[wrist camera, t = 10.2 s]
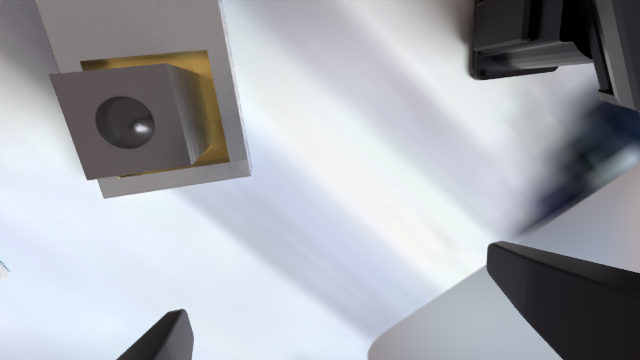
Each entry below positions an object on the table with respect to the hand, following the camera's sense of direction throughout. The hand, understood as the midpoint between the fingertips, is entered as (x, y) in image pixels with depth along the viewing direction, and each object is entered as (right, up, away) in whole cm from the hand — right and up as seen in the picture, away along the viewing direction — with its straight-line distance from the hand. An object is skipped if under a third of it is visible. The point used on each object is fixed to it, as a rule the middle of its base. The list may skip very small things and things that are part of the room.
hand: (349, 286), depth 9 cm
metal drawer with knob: (-10, +7, +9) cm, 15 cm away
